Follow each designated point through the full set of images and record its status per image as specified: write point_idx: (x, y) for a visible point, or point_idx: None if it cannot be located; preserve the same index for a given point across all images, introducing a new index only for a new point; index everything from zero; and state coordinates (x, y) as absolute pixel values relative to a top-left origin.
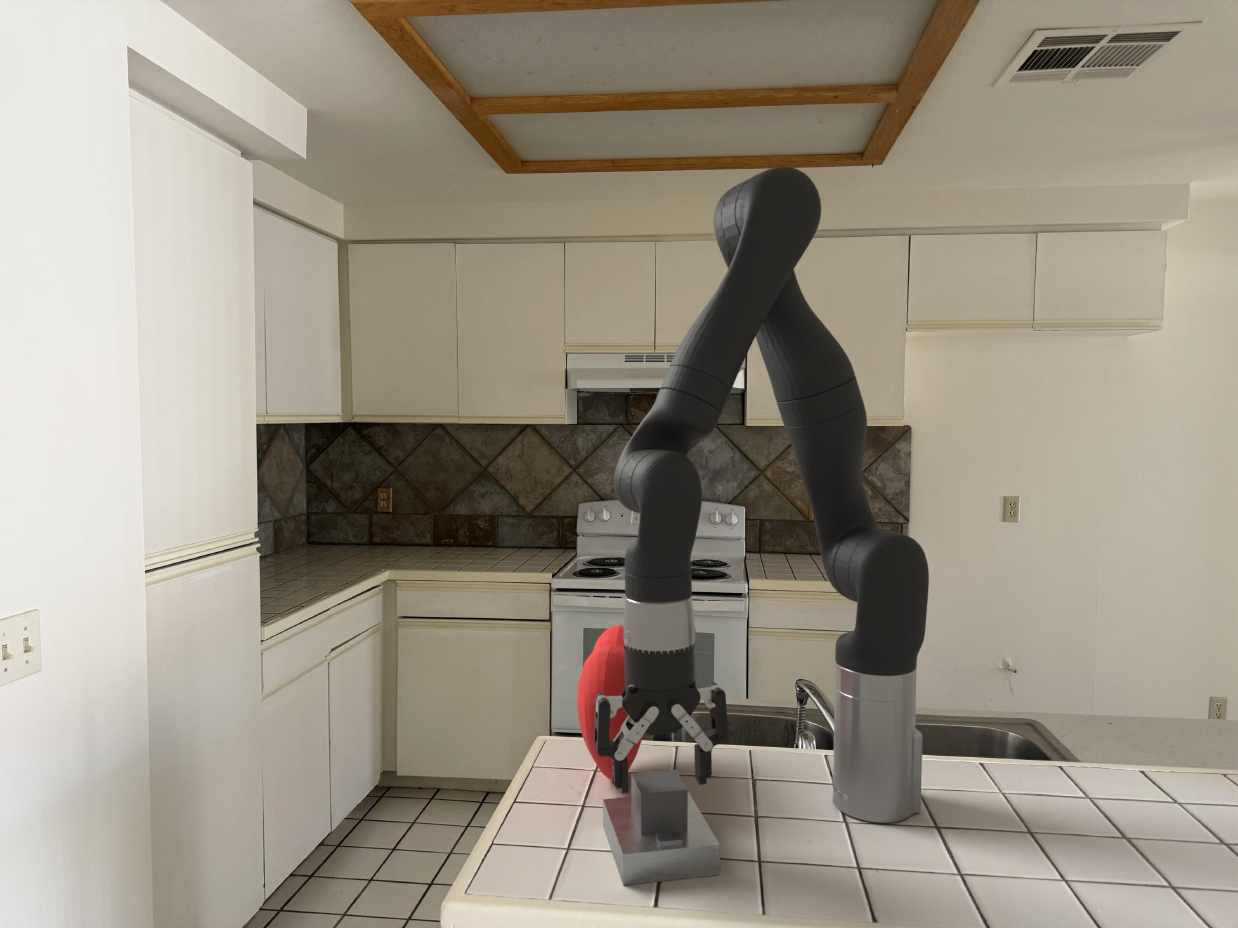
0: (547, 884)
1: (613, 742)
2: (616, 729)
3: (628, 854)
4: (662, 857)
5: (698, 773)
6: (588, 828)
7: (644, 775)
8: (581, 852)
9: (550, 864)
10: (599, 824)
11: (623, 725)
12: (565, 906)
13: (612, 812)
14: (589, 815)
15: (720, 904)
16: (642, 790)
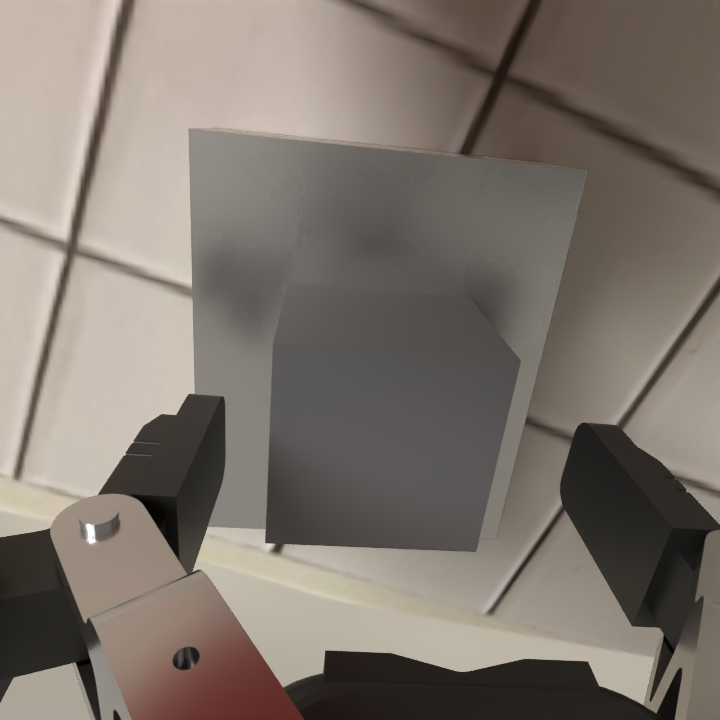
0: (6, 419)
1: (50, 611)
2: None
3: (215, 524)
4: None
5: (583, 495)
6: (156, 124)
7: (334, 386)
8: (116, 284)
9: (11, 326)
10: (203, 104)
11: (101, 665)
12: (58, 512)
13: (210, 265)
14: (172, 7)
15: (419, 573)
16: (280, 516)
